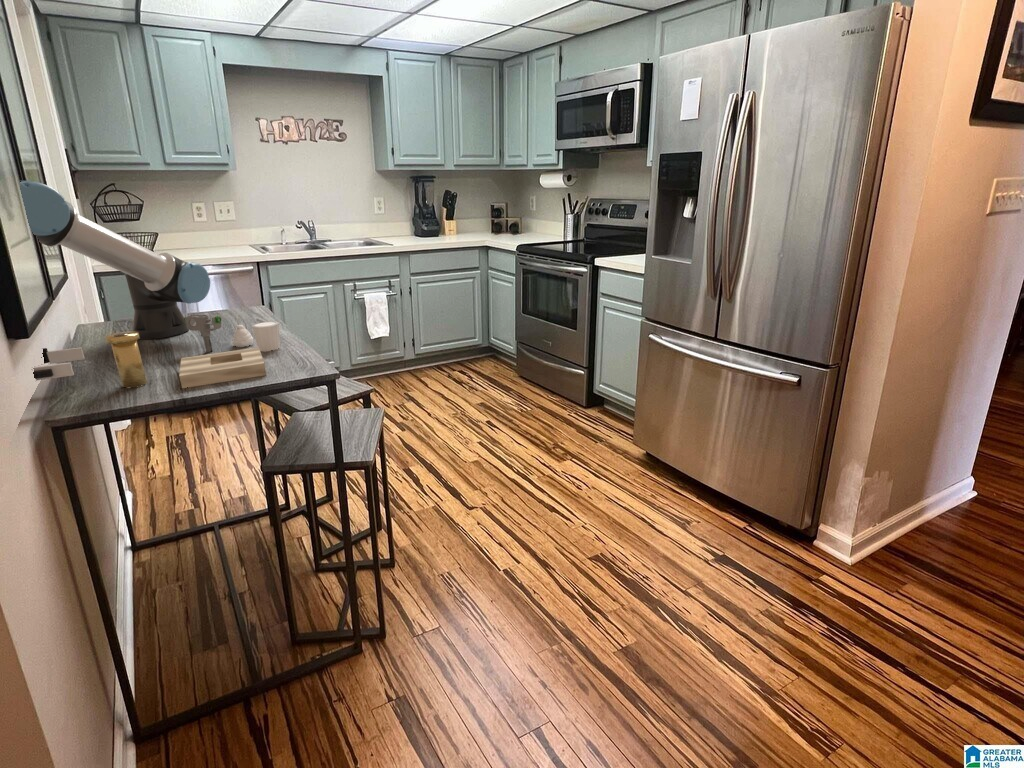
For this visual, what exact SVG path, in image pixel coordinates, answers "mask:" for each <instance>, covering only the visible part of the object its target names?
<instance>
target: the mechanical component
mask: <svg viewBox="0 0 1024 768" xmlns="http://www.w3.org/2000/svg"><path fill="white" fill-rule="evenodd" d="M184 321H185V322H186V323H187V327H188V329H189V330H188V331H193V332H194V331H195V332H196V331H197V332H200V337H202V338H203V343H204V348H205V351H206V353H211V352H213V350H214V349H213V346H212V342H211V341H212V340H211V335H212V333H211V332H214V331H217V330H218V329H221V327H222V318H221V317H220V316H218V315H214V316H212V317H211V318H210V317H209V315H208V314H189V315H187V316H184ZM212 325H213V326H212Z"/></svg>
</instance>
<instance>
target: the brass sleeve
mask: <svg viewBox="0 0 1024 768" xmlns="http://www.w3.org/2000/svg"><path fill="white" fill-rule="evenodd" d="M139 338H140V337H139V333H138V332H136V331H133V330H130V331H129V330H128V331H120V332H115V333H111V334H109V335H105V341H106V344H108V345H110V346H111V350H112V352H113V357H114V361H115V364H116V367H117V371H118V375H119V379H120V383H121V387H122V386H123V387H126V388H125V389H128V388H127V387H136V388H138V387H137V386H141V385H143V386H145V385H144V384H146V383H147V384H148V380H147V379H148V378H147V377H146V371H145V367H144V363H143V360H142V356H141V352H140V348H139V344H138V340H139ZM147 384H146V385H147ZM123 387H122V388H123ZM141 387H142V386H141Z"/></svg>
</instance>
